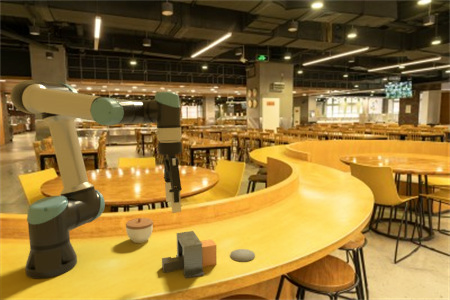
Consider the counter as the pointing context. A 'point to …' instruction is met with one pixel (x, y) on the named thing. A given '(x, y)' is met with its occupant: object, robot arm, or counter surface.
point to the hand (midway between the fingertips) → (173, 206)
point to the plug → (207, 257)
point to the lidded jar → (139, 229)
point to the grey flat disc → (242, 255)
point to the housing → (190, 254)
